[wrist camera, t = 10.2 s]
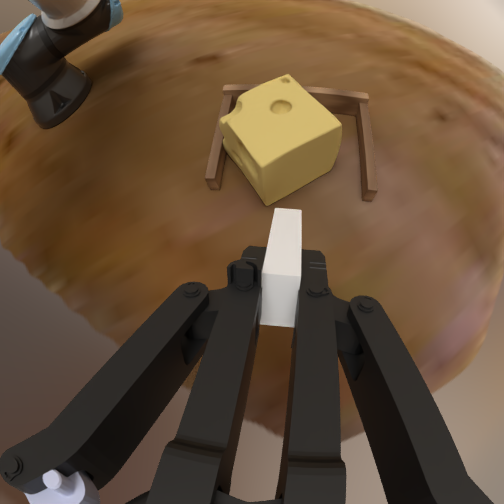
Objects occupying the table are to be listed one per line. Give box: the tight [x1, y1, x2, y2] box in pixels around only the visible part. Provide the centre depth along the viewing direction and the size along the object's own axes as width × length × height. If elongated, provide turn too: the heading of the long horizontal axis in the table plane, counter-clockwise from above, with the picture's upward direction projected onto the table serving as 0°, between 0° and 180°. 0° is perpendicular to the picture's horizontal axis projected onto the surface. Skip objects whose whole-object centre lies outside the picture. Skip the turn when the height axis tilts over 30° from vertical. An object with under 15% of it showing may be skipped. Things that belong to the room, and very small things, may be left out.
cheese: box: [219, 74, 342, 206], centre depth 32 cm, size 10×11×10 cm
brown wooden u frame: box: [205, 84, 378, 201], centre depth 36 cm, size 20×15×4 cm
